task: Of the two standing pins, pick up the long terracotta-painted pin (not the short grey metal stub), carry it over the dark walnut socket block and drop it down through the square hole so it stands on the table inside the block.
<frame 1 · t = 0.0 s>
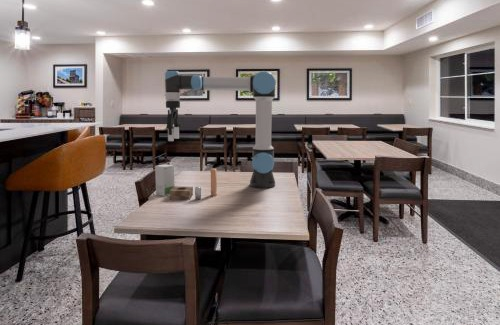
hand: (173, 139, 202), 28 cm above the table, fingers open, 13 cm apart
long pin: (213, 195, 194), on the table
skincare box: (165, 194, 196), on the table
short pin: (198, 198, 186), on the table
socket block: (181, 197, 189), on the table
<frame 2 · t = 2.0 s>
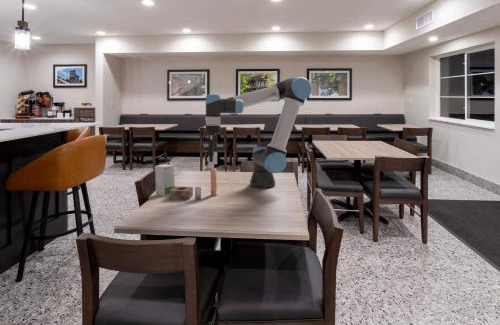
hand: (212, 165, 191), 16 cm above the table, fingers open, 13 cm apart
nothing on the table moved.
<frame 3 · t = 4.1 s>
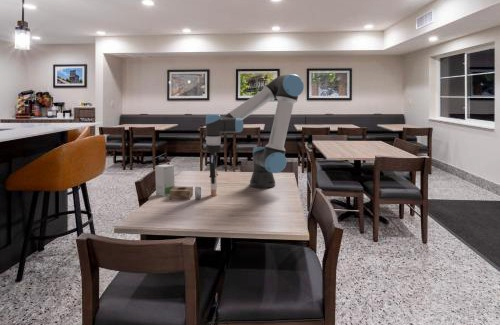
hand: (213, 188, 193), 4 cm above the table, fingers closed on long pin, 3 cm apart
long pin: (213, 195, 194), on the table, touching gripper
everything else where it was.
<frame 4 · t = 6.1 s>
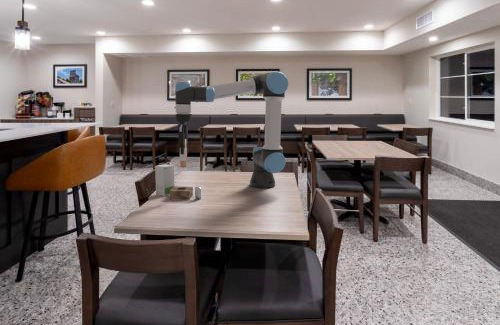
hand: (183, 160, 187), 19 cm above the table, fingers closed on long pin, 3 cm apart
long pin: (183, 166, 187), point 16 cm above the table, touching gripper
everything else where it was.
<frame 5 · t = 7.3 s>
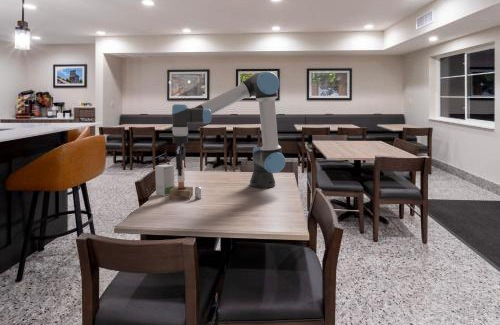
hand: (181, 181, 188), 9 cm above the table, fingers closed on long pin, 3 cm apart
long pin: (181, 187, 189), point 5 cm above the table, touching gripper
everything else where it was.
when the fingers open (6 cm above the table, at t = 8.3 s): long pin drops 1 cm, resting in socket block.
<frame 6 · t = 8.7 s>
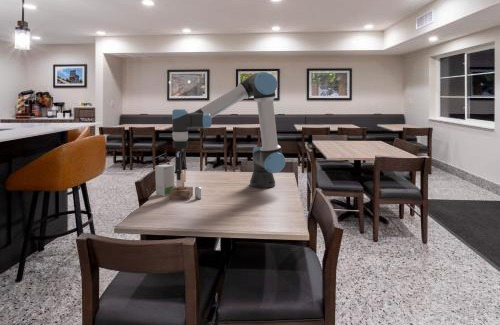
hand: (181, 184, 188), 7 cm above the table, fingers open, 9 cm apart
long pin: (181, 197, 189), resting in socket block
everything else where it was.
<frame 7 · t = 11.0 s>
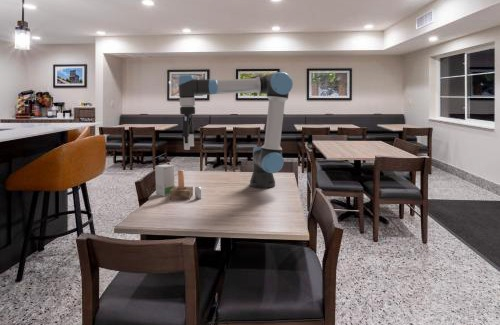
hand: (189, 148, 190), 25 cm above the table, fingers open, 13 cm apart
nothing on the table moved.
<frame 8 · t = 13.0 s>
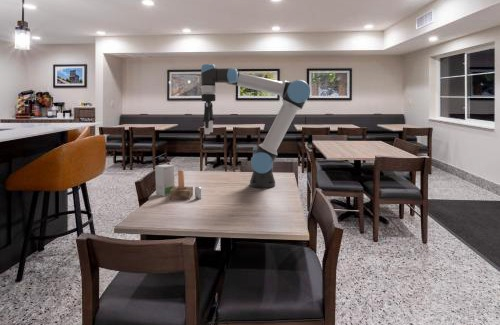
hand: (208, 133, 202), 32 cm above the table, fingers open, 13 cm apart
nothing on the table moved.
at the end: long pin 0.0 cm off-centre on the socket block, point 0.0 cm above the socket block's base; long pin tilted 0°; short pin moved 0.0 cm from its start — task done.
